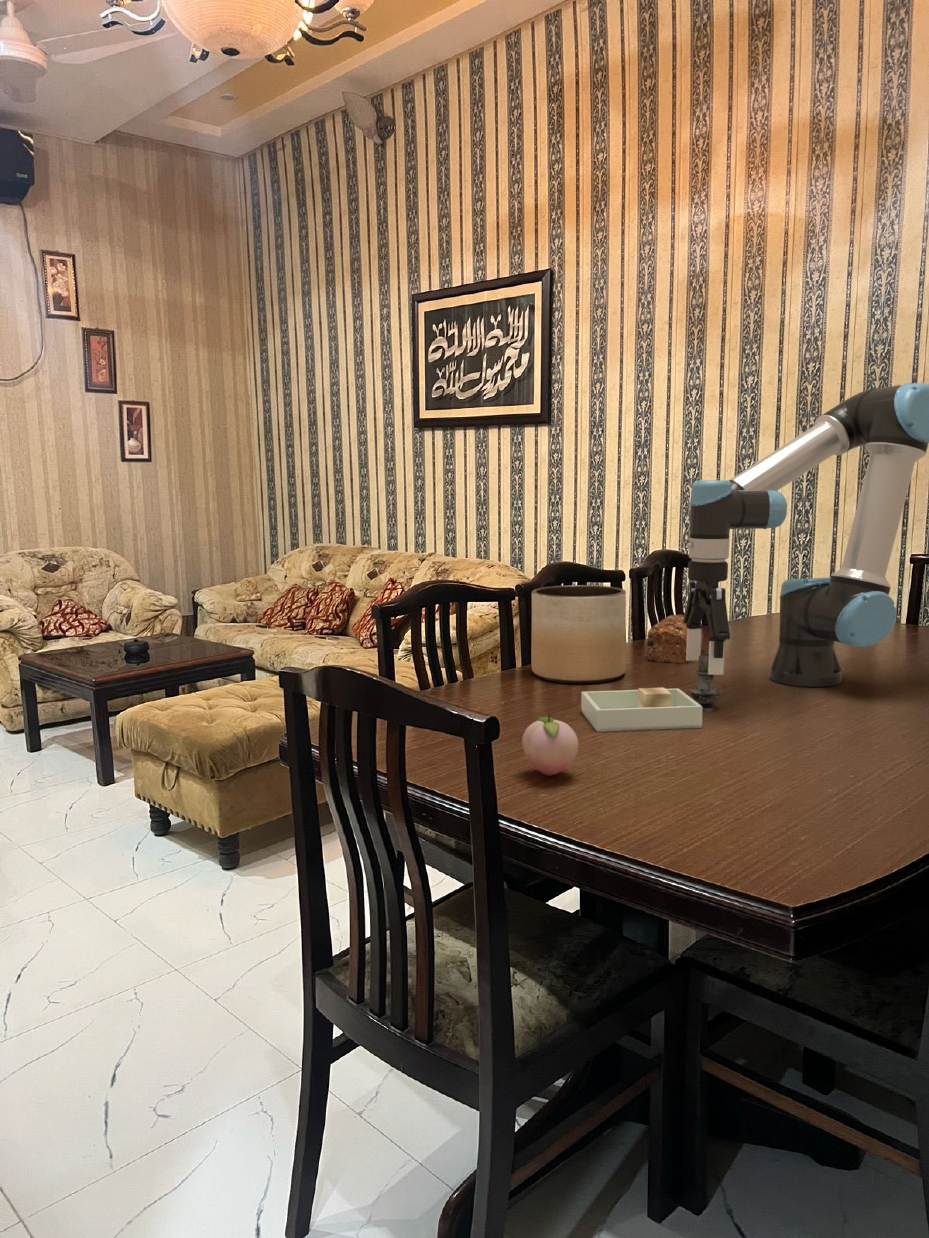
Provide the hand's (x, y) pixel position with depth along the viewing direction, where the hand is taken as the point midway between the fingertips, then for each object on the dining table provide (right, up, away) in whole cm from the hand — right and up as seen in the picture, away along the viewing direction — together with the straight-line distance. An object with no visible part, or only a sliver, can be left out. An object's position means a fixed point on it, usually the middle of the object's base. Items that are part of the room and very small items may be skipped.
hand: (703, 667), depth 178 cm
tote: (-14, -10, -6) cm, 18 cm away
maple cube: (-11, -9, -6) cm, 16 cm away
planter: (-21, -4, +34) cm, 40 cm away
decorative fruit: (-34, -15, -37) cm, 53 cm away
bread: (+7, 0, +53) cm, 54 cm away
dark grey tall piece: (+1, -8, +1) cm, 9 cm away
